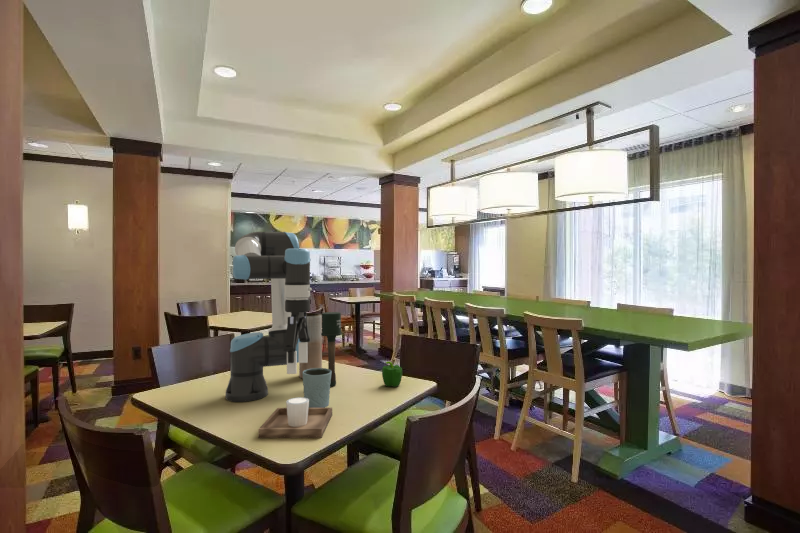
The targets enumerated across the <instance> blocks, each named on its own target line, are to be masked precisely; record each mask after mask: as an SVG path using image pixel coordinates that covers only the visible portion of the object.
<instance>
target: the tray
mask: <svg viewBox="0 0 800 533" xmlns="http://www.w3.org/2000/svg"><path fill="white" fill-rule="evenodd" d="M332 417H333V407H325V408H308V418H307V424H305V425H303V426H299V427H292V426H289V425H288V416H287V407H276V409H275V410H274V411H273V412H272V414H270V416H269V417H268V418H267V419H266V420H265V421H264V422H263V423H262V425H261V426H260V427H259V428H258V429H257V430H258V439H316V438H317V439H319V438H320V439H322V438H323V436H324V433H325V431H326V429H327V427H328V425H329V423H330V420H331V419H332Z"/></svg>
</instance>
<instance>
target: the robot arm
mask: <svg viewBox="0 0 800 533" xmlns="http://www.w3.org/2000/svg"><path fill="white" fill-rule="evenodd" d="M234 252H235V254H236V255H234V256H233V258H232V277H233V279H236V280H243V281H246V280H264V279H265V280H267V279H268V280H269V279H270V282H271V283H270V286H271V287H270V288H271V319H272V320H271V323H272V324H271V328H270V329H269V330H268V331H267V332H268V335H264V333H263V332H261V331H260V332H259V331H258V332H249V333H244V334H240V335H237V336H235V337H233V338H232V339H231V341H230V349H229V352H230V377H229V381H228V383H227V386H226V390H225V399H226V400H227V401H229V402H235V403H237V402H238V403H243V402H251V401H257V400H260V399H263V398H265V397H267V396H268V394H269V388H268V384H267V380H266V379H265V375H264V367H276V366H277V367H278V366H286V374H288V375H297V372H298V371H297V370H298V369H297V368H298V367H297V366H298V365H297V364H299V363H307V342H310V338H309V332H308V324H307V314H308V312H310V311H311V300H310V299H309V298H310V297H311V292H312V290H313V289H312V287H310V286H311V278H310V277H311V259H312V258H311V257H310V256H311V254H310V250H309V249H308V248H300V243H299V240H298V237H297V234H295V233H293V232H286V231H283V232H282V231H280V232H279V231H254V232H253V231H252V232H249V233H247V234H244V235H243V236H241V237H240V238H238V239H237V241H236V242H235V245H234Z"/></svg>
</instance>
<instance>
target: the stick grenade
mask: <svg viewBox="0 0 800 533" xmlns="http://www.w3.org/2000/svg"><path fill="white" fill-rule="evenodd" d="M321 315H322V333H321V335H322V337H326V339H327V340H326V342H327V352H328V353H327V354H328V356H327V357H328V358H327V359H328V360H327V362H328V365H327V366H328V368H327V369H329V370H331V371H332V373H331V383H330V388H332V387H335V386H336V385H337V379H336V378H337V376H336V354H335V353H336V338H337V337H338V336H341V335H343V333H342V313H341V312H339V311H330V312H329V311H327V312H322V313H321Z"/></svg>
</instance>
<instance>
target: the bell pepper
mask: <svg viewBox="0 0 800 533" xmlns="http://www.w3.org/2000/svg"><path fill="white" fill-rule="evenodd" d="M385 363H386V365H384V366H382V368H381V375H382V377H381V378H382V380H383V381H382V382H383V383H384V385H385V386H386V387H394V388H395V387H396V388H397V387H399V386H400V385H401V381H402V377H403V368H402V366H400V365H398V364H395V365H394V364H393V362H391V361H385Z"/></svg>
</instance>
